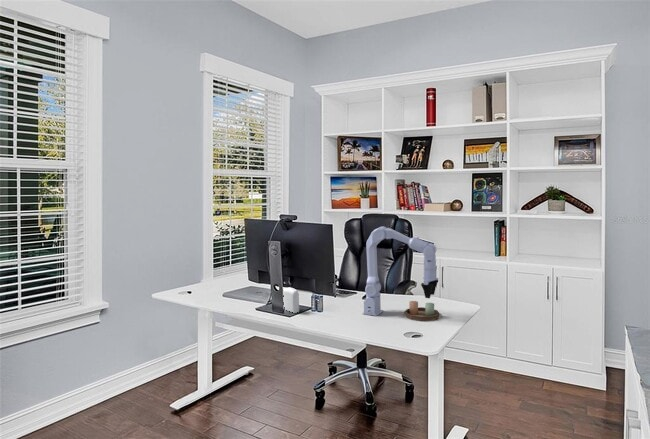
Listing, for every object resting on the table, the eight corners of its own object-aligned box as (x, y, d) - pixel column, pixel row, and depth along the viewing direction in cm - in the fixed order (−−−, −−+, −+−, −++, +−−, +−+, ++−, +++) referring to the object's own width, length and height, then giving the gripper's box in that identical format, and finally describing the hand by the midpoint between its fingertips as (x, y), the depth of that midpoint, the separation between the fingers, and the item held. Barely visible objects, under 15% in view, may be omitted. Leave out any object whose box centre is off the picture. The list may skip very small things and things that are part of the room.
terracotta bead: (416, 315, 226) (416, 303, 226) (408, 314, 228) (408, 302, 228) (419, 313, 230) (419, 301, 229) (411, 312, 232) (411, 300, 231)
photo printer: (282, 309, 243) (281, 286, 242) (289, 308, 246) (288, 285, 245) (293, 314, 235) (293, 290, 234) (300, 312, 238) (299, 288, 237)
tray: (434, 322, 216) (434, 318, 216) (400, 318, 224) (400, 314, 224) (442, 313, 230) (442, 309, 230) (410, 309, 238) (410, 306, 238)
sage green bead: (432, 317, 222) (432, 305, 222) (424, 316, 224) (424, 304, 224) (435, 315, 226) (435, 303, 225) (426, 314, 228) (426, 302, 227)
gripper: (434, 272, 215) (434, 300, 216) (441, 266, 228) (441, 293, 229) (419, 271, 218) (419, 299, 219) (427, 265, 231) (427, 292, 232)
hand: (429, 296), depth 224 cm, fingers open, 7 cm apart
